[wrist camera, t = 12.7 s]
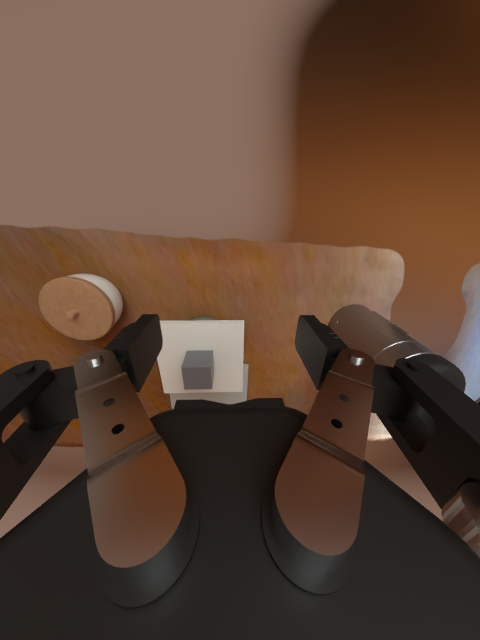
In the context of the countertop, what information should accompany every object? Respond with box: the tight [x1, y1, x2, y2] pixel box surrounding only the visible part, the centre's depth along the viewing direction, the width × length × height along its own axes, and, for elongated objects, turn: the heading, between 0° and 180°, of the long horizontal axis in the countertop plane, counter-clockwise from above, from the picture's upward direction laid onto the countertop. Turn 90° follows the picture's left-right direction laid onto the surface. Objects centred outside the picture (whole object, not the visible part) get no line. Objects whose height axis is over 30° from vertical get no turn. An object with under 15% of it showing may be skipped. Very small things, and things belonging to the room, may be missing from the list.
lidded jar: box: [39, 274, 123, 340], centre depth 35 cm, size 11×11×9 cm
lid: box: [157, 320, 244, 393], centre depth 35 cm, size 15×15×6 cm
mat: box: [169, 364, 248, 409], centre depth 52 cm, size 19×19×1 cm
